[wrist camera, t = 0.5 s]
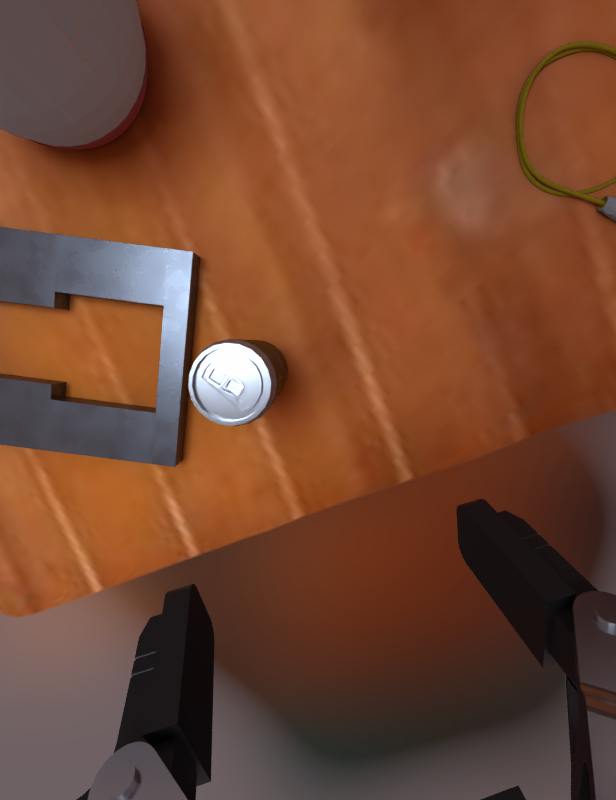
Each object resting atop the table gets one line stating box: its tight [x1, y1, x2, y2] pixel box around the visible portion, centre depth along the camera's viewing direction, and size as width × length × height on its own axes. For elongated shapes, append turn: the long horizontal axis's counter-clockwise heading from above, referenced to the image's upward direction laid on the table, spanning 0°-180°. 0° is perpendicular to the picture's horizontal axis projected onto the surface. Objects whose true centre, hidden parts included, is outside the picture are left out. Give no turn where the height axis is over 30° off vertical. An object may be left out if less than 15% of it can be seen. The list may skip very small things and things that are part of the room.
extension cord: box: [516, 42, 616, 222], centre depth 32 cm, size 12×16×2 cm
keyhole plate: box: [0, 227, 200, 467], centre depth 35 cm, size 20×18×2 cm
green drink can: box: [188, 339, 287, 426], centre depth 30 cm, size 5×5×12 cm
